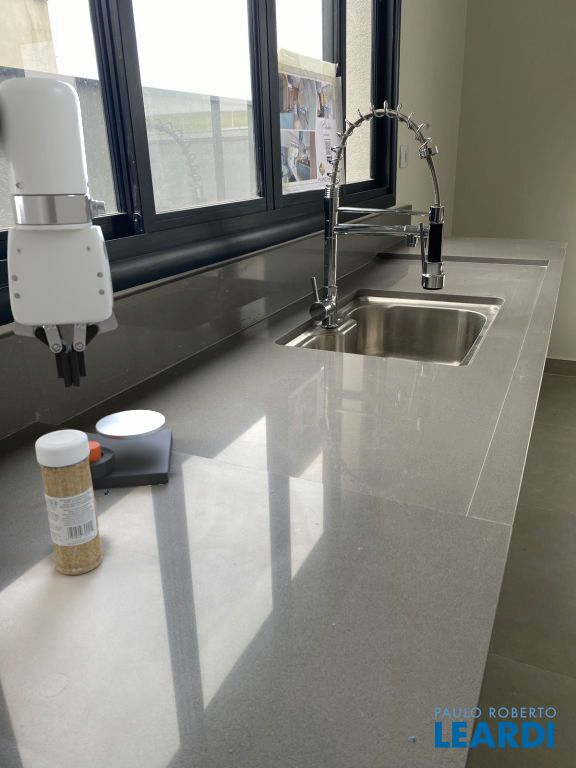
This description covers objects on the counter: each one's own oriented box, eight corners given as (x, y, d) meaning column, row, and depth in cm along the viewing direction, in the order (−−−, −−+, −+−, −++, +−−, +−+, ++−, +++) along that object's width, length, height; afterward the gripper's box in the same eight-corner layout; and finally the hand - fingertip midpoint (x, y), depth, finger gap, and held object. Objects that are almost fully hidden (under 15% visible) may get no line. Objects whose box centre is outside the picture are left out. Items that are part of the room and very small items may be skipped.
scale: (64, 494, 73) (60, 468, 71) (84, 445, 86) (81, 422, 85) (168, 486, 74) (166, 460, 73) (172, 439, 88) (171, 417, 87)
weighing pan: (91, 449, 76) (90, 437, 76) (102, 422, 85) (101, 412, 84) (164, 444, 78) (163, 432, 77) (167, 418, 86) (166, 408, 86)
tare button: (75, 464, 73) (73, 451, 73) (79, 454, 76) (78, 441, 75) (99, 462, 74) (97, 449, 73) (102, 453, 76) (101, 440, 76)
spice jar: (102, 545, 62) (86, 424, 58) (105, 571, 58) (88, 443, 54) (54, 555, 61) (35, 431, 56) (54, 581, 57) (33, 451, 52)
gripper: (128, 210, 67) (142, 369, 73) (-18, 213, 64) (9, 378, 70) (127, 214, 60) (142, 388, 66) (-37, 216, 57) (-6, 400, 63)
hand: (73, 383), depth 68 cm, fingers closed
